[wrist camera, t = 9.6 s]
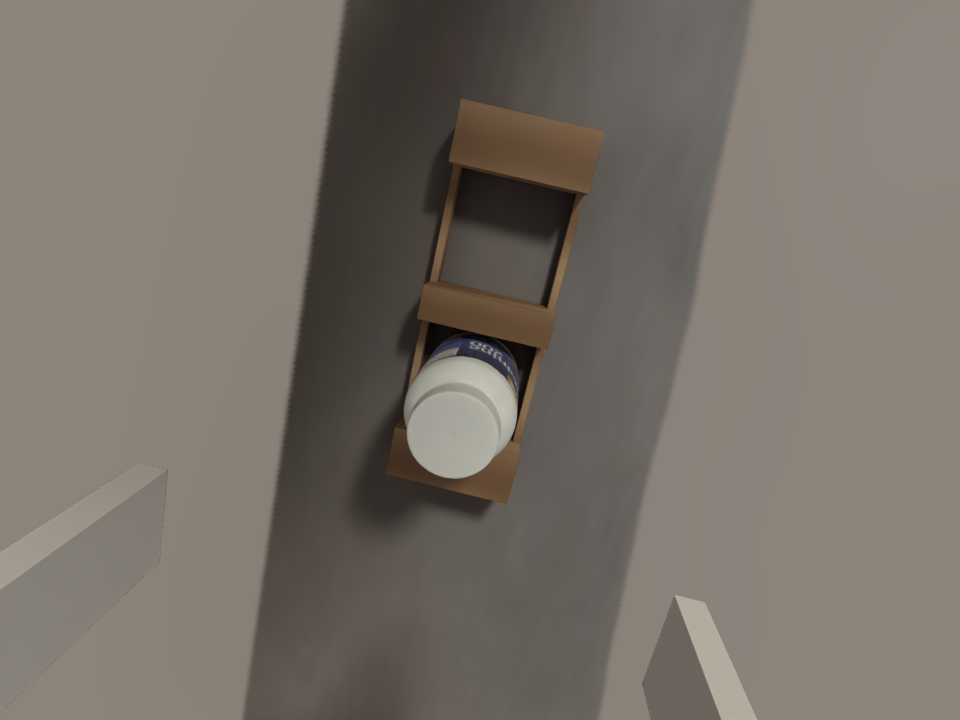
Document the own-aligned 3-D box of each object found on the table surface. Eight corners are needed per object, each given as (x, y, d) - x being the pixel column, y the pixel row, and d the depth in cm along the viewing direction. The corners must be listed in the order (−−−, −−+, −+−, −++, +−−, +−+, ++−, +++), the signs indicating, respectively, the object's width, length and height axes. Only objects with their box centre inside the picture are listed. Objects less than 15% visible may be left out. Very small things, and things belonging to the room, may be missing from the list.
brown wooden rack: (467, 109, 31) (461, 98, 28) (597, 139, 31) (604, 131, 28) (397, 453, 36) (385, 474, 33) (508, 480, 36) (506, 504, 33)
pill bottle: (537, 385, 34) (541, 450, 25) (464, 435, 35) (442, 516, 26) (482, 311, 33) (464, 349, 24) (409, 364, 34) (364, 421, 25)
